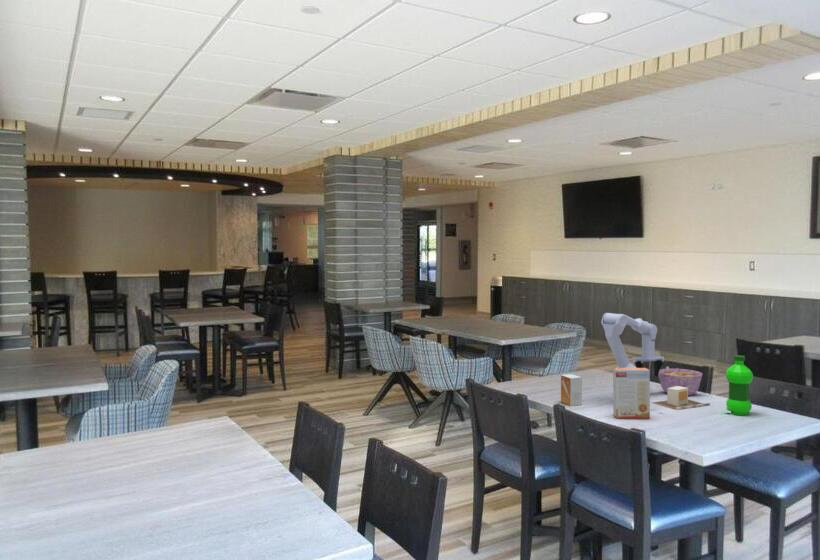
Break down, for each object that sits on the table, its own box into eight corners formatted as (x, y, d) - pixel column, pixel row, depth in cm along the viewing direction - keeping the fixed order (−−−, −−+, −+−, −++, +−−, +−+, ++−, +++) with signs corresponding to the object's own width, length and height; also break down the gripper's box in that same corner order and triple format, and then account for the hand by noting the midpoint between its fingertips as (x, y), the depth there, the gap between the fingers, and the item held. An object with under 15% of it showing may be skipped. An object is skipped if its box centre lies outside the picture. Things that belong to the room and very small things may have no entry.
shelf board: (677, 413, 268) (677, 408, 268) (651, 405, 282) (651, 400, 282) (710, 408, 276) (710, 403, 276) (683, 401, 290) (683, 396, 290)
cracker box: (646, 415, 266) (646, 367, 265) (650, 419, 260) (650, 369, 259) (612, 415, 267) (612, 366, 266) (615, 418, 261) (616, 369, 260)
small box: (560, 402, 290) (560, 374, 290) (572, 401, 292) (572, 373, 292) (570, 406, 283) (570, 378, 282) (582, 405, 285) (582, 377, 284)
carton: (677, 405, 276) (678, 390, 276) (667, 403, 280) (667, 388, 280) (688, 403, 281) (688, 387, 280) (677, 401, 285) (677, 385, 285)
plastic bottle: (738, 417, 261) (739, 358, 260) (719, 411, 272) (720, 354, 271) (757, 415, 264) (758, 357, 263) (738, 409, 274) (739, 353, 273)
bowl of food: (693, 391, 310) (693, 368, 310) (708, 401, 290) (709, 376, 290) (652, 391, 312) (652, 368, 312) (664, 400, 292) (664, 376, 292)
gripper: (636, 350, 292) (637, 378, 293) (667, 349, 293) (667, 377, 294) (630, 347, 299) (631, 375, 300) (660, 346, 300) (660, 374, 301)
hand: (648, 376), depth 297 cm, fingers open, 7 cm apart
